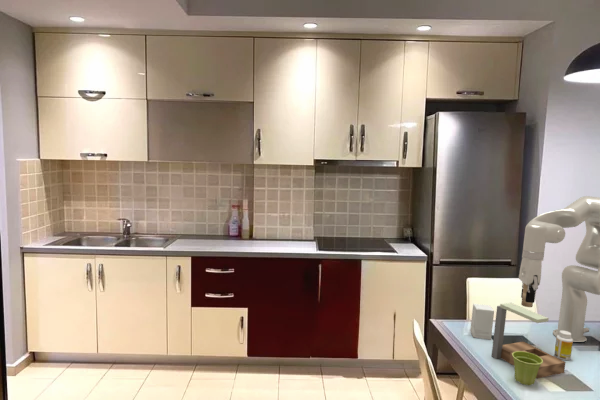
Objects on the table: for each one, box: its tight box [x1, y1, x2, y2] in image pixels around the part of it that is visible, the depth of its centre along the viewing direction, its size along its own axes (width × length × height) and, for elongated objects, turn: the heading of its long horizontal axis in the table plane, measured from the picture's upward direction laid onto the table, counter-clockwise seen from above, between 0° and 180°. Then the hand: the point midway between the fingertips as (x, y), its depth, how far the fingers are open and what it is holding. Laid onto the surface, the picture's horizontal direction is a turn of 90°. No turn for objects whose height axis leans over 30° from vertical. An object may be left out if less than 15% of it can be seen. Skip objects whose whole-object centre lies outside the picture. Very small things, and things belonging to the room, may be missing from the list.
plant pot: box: [512, 351, 543, 386], centre depth 155 cm, size 9×9×9 cm
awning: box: [491, 302, 550, 360], centre depth 166 cm, size 6×17×21 cm, turn 23°
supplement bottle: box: [553, 331, 574, 361], centre depth 176 cm, size 6×6×10 cm
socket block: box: [500, 341, 567, 379], centre depth 169 cm, size 14×18×4 cm
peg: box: [520, 283, 534, 308], centre depth 180 cm, size 4×4×10 cm
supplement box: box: [470, 303, 495, 341], centre depth 193 cm, size 7×7×13 cm
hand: (527, 299), depth 180 cm, fingers closed on peg, 4 cm apart
